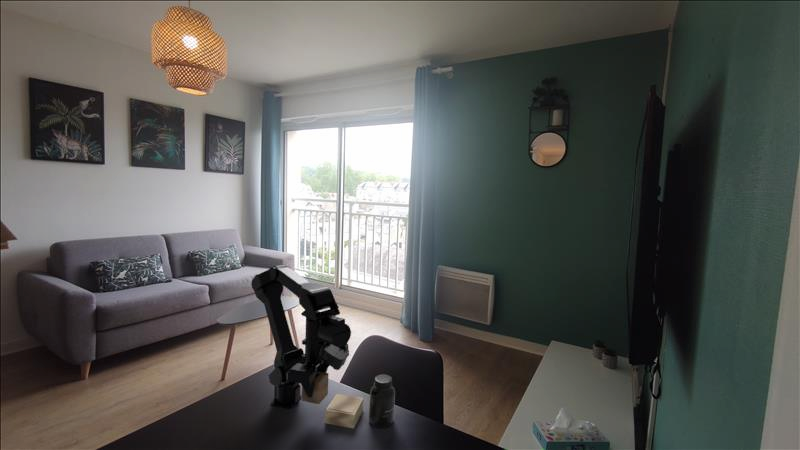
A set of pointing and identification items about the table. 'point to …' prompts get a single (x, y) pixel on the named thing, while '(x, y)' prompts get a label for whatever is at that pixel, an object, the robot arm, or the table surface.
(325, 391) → the walnut block
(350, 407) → the oak block
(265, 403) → the table surface
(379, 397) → the supplement bottle
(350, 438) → the table surface
